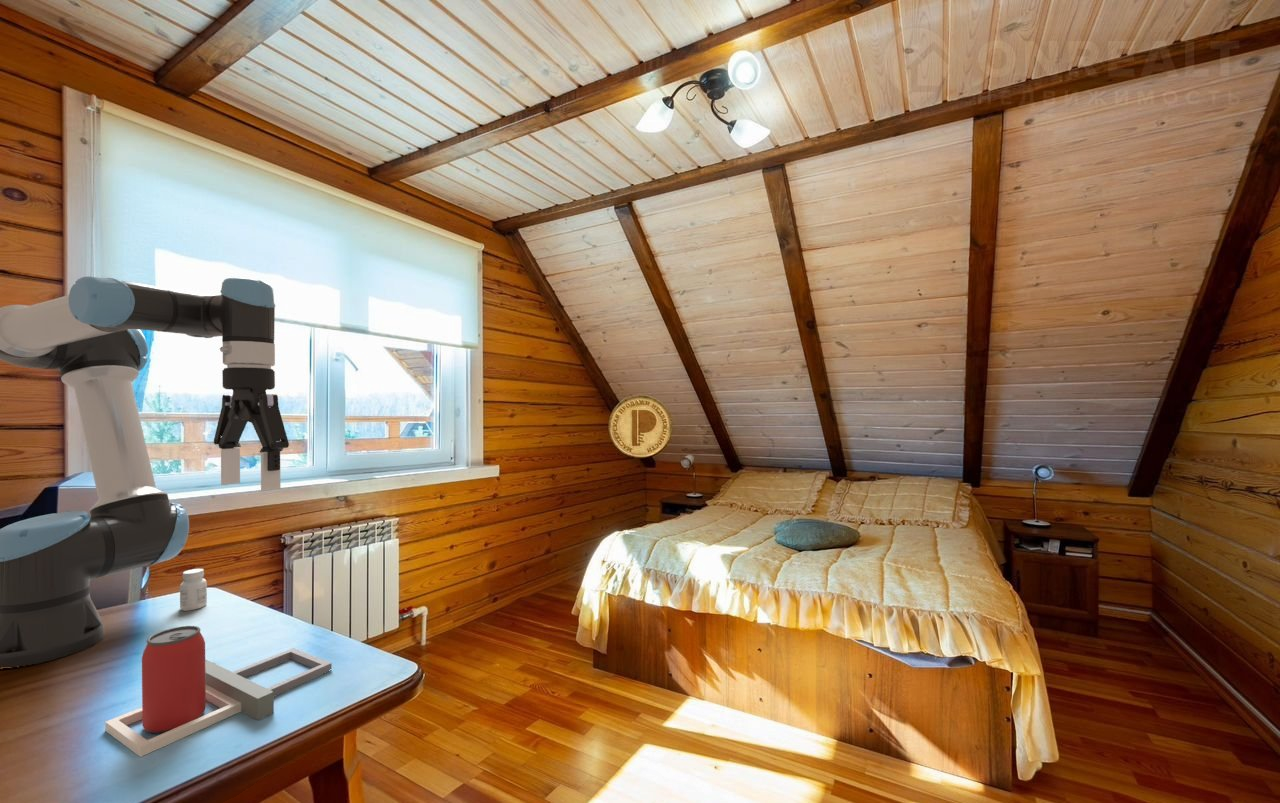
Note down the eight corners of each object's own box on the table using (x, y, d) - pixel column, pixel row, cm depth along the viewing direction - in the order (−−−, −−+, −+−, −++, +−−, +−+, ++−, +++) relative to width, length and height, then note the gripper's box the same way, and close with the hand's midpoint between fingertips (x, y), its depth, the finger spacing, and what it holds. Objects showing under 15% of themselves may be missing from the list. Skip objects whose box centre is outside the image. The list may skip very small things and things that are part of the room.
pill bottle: (208, 601, 117) (207, 566, 117) (205, 608, 114) (204, 571, 114) (182, 605, 115) (181, 570, 115) (178, 612, 111) (177, 575, 111)
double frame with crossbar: (92, 721, 74) (92, 699, 74) (279, 649, 95) (279, 632, 95) (156, 768, 64) (156, 743, 64) (348, 677, 85) (348, 658, 85)
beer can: (168, 738, 70) (168, 647, 70) (129, 732, 71) (128, 642, 71) (218, 709, 76) (217, 625, 76) (180, 704, 78) (179, 622, 78)
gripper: (190, 368, 98) (191, 484, 98) (263, 363, 86) (264, 496, 86) (237, 370, 104) (238, 479, 105) (311, 366, 92) (312, 489, 93)
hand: (250, 486), depth 95 cm, fingers open, 13 cm apart
